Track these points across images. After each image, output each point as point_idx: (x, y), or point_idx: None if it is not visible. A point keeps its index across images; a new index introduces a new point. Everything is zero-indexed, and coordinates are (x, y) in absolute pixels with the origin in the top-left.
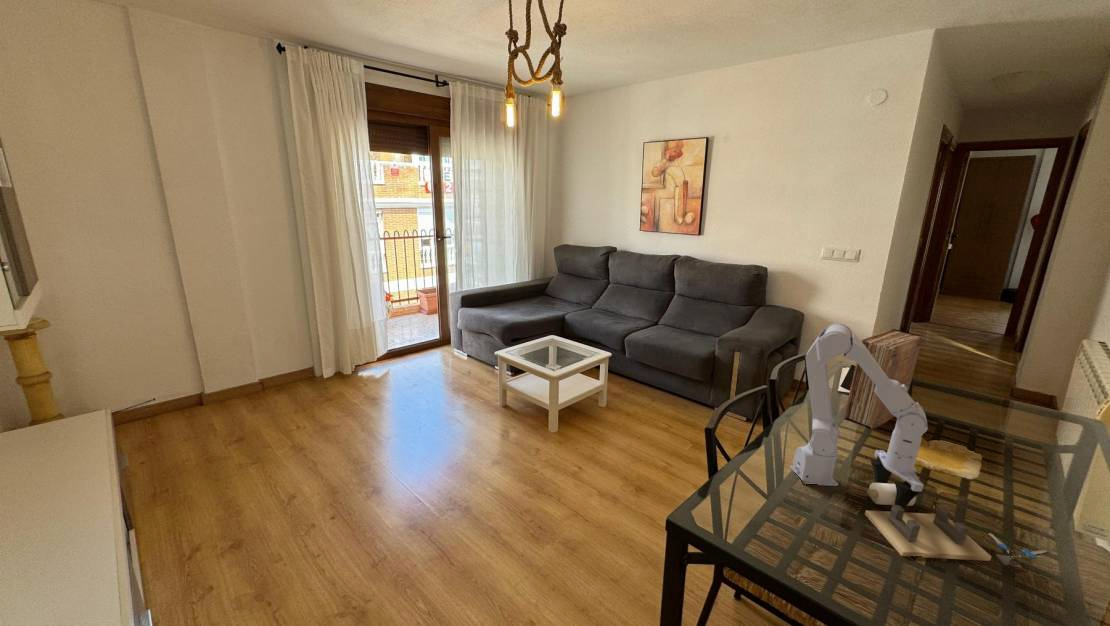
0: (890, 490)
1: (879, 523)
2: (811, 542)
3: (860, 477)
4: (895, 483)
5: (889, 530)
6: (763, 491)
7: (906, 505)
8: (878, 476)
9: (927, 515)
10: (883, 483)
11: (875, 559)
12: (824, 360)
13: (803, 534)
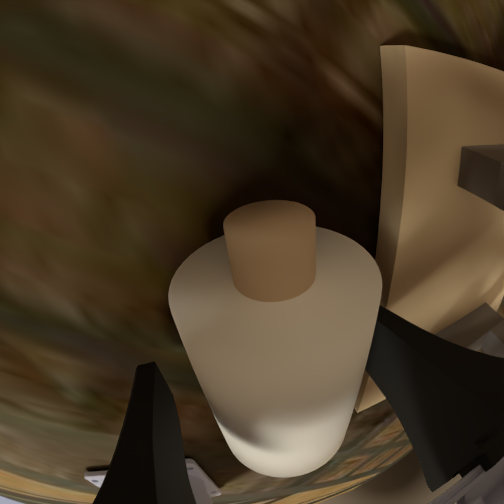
0: (345, 429)
1: None
2: (402, 436)
3: (42, 392)
4: (431, 484)
5: None
6: (269, 501)
7: (382, 308)
8: (187, 479)
9: (418, 181)
10: (281, 462)
11: None
12: None
13: (384, 446)
